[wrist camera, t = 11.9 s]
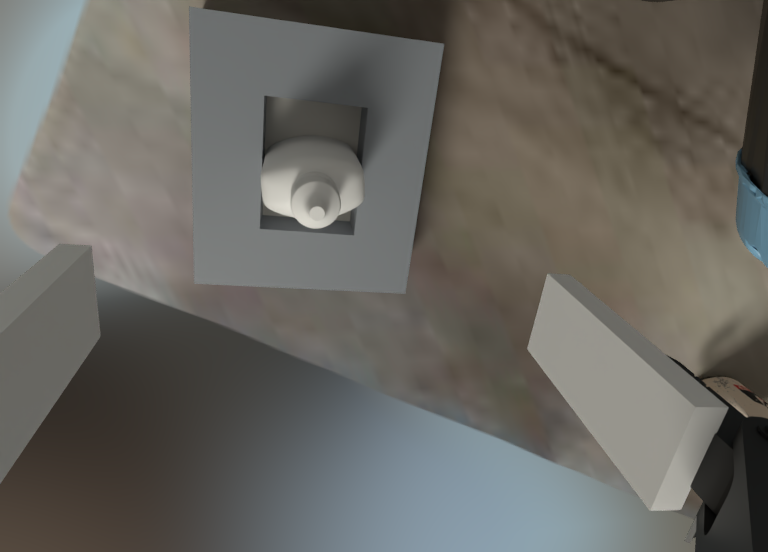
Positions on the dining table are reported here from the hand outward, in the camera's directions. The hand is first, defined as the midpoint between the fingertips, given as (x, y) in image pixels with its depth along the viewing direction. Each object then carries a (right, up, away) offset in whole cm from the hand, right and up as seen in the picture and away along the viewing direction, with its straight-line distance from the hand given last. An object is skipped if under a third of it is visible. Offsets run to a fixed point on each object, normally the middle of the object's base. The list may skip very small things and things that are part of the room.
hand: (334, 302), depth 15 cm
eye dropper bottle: (-4, +8, +19) cm, 21 cm away
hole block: (-4, +9, +20) cm, 22 cm away
